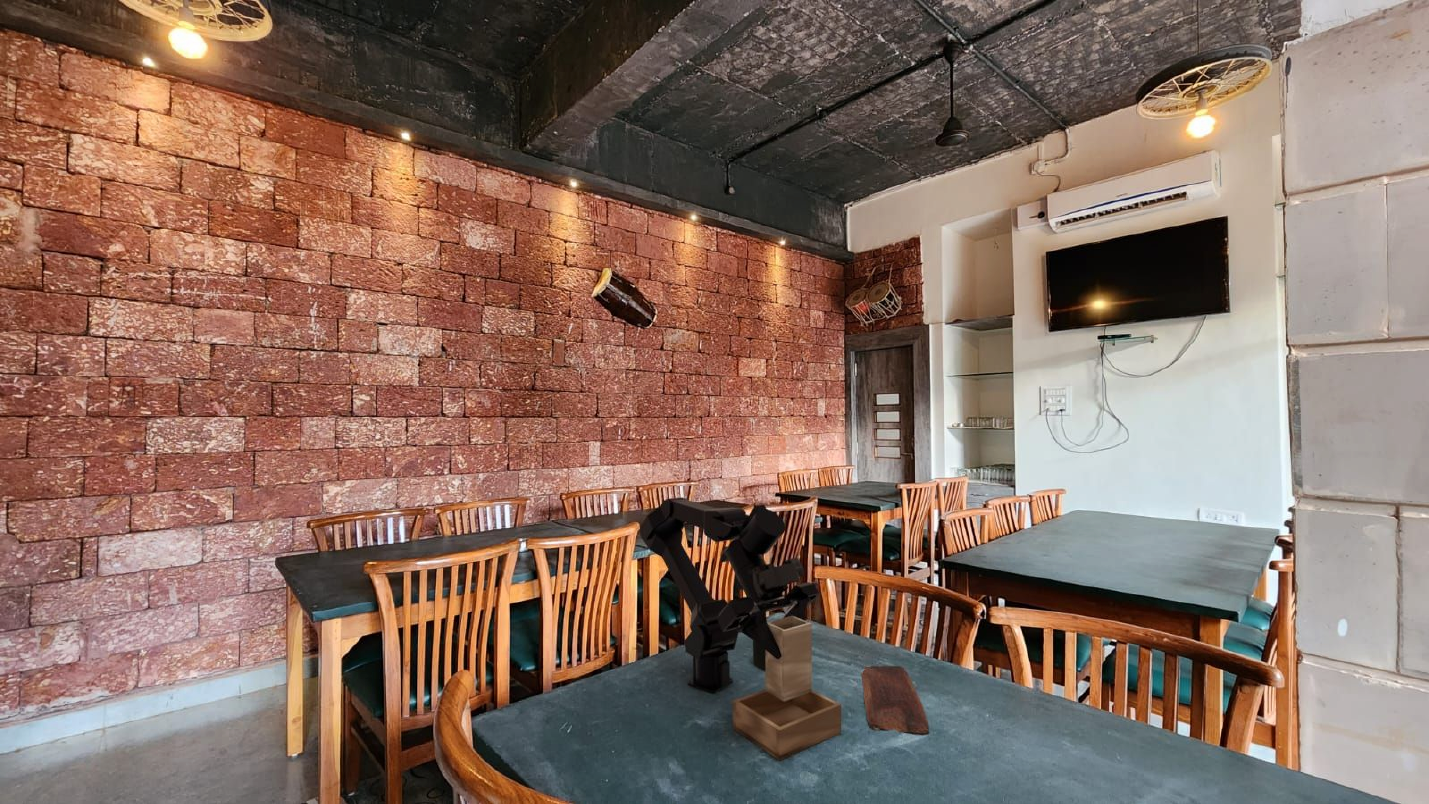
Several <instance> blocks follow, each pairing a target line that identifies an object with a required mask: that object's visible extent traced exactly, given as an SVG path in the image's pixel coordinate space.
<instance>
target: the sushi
mask: <svg viewBox="0 0 1429 804" xmlns="http://www.w3.org/2000/svg"><path fill="white" fill-rule="evenodd" d="M771 621H772V620H771ZM771 621H769V622H771ZM752 663H753V666H754V667H755V668H757V669H759V670H762V671H764V672H766V650H765V649H764V648H763V647H761V646H760V645H759V644H758V643H756V642H755V641H754V640H752Z"/></svg>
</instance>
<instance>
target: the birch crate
mask: <svg viewBox="0 0 1429 804" xmlns="http://www.w3.org/2000/svg"><path fill="white" fill-rule="evenodd" d="M767 624H768V626H769V628H770V630H771V632H772V634H773V636H774V638H775V641H776V643H777V645H778V647H779V649H780V652H781V655H782V657H781V658H780V659H776V658H775V657H773V656H772V655H771V654H770V653H769V652H767V651H766V671H764V672H765V681H764V682H765V684H764V687H765V688H764V690H765V691H767V692H769V693H770V694H772V695H774V696H775V697H777V698H779V699H780V700H782V701H784V702H785V701H788V700H790V699H793V698H795V697H798V696H801V695H803V694H806V693H808V692H811V689H812V675H813V674H812V665H813V664H812V661H813V660H812V658H813V657H812V652H813V651H812V647H813V646H812V643H813V642H812V639H813V638H812V637H813V636H812V634H813V633H812V626H813V624H812V622H809V621H807V620H806V621H804V620H802V619H800V618H797V617H795V616H789V617H786V618H783V617H781V618H779V619H776V620H771V622H770V621H767Z"/></svg>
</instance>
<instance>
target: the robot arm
mask: <svg viewBox="0 0 1429 804" xmlns="http://www.w3.org/2000/svg"><path fill="white" fill-rule="evenodd" d="M746 512H747V511H746V510H744V509H743V507H742V508H741V507H723V508H722V507H721V508H720V507H719V508H717V507H716V508H715V507H713V506H709V505H705V504H702V503H699V502H696V501H692V500H689V499H687V498H685V497H683V496H682V497H671V498H666V499H665V500H662V502H661V504H660V505H659V506H658V507H657V508H656V509H654V510H653V511H651V512H650V513H649V514H647V516H646V517H645V518H644V519H643V521H642V523H641V525H640V526H639V527H640V528H639V534H640V535H639V536H640V538H641V539H642V541H643V542H644V544H645V545H646V547H647V548H648V549H649V551H651V552H653V553H654V554H656V555H657V556H659V557H661V558H662V560H663V562H664V564H665V566H666V567H667V570H668V572H669V573H670V575H671V578H673V581H674V582H675V584H676V587H677V588H678V590H679V592H680V594H681V596H682V598H683V600H684V602H685V603H686V605H687V608H688V610H689V612H690V622H689V628H690V633H689V634H688V635H687V637H686V638H685V639H684V641H683V643H684V648H685V652H686V653H685V654H688V655H689V656H691V657H692V678H691V679H690V680H688V681H687V685H688V686H691V687H693V688H697V689H700V690H702V691H705V692H708V693H711V694H715V693H717V692H719V691H720V690H722V689H724V688H725V687H726V686H729V685H730V684H731V683H733V681H734V679H733V678H732V677H731V672H730V671H731V670H730V669H731V667H730V665H731V663H730V661H729V651H733V650H735V648H736V644H737V641H738V636H739V634H744V635H745V636H746V637H748V638H749V639H751V640H752V641H753V640H754V641H755V642H756V643H758V644H759V645H760V646H761V647H763V648H764V649H765V650H766V651H767V652H769V653H770V654H771V655H772V656H773V657H775V658H776V659H780V658H781V657H782V655H781V652H780V649H779V647H778V645H777V643H776V641H775V638H774V636H773V634H772V632H771V630H770V628H769V626H768V624H767V622H768V620H767V613H769V612H771V611H775V610H780V609H783V611H784V614H785V615H784V616H783V617H782V618H786V617H789V616H795V617H797V618H800V619H802V620H804V621H807V617H806V616H807V615H806V611H807V608H808V607H809V606H810V605H811V604H812V603H813V602H814V601H815V600H816V599H817V598H818V597H819V596H820V592H819V590H818V589H817V587H816V585H815V583H812V582H810V581H808V582H804V583H801V579H800V577H802V576H804V574H805V569H804V567H803V564H802V563H801V561H800V559H798V557H793V558H789V559H786V560H784V564H781V565H776V566H775V565H774V564H773V563H767V562H766V561H765V558H764V557H763V555H766V554H767V553H769V552H770V551H771V549H772V548H773V547H774V546H775V544H776V543H777V542H778V540H780V538H781V537H782V535H784V533H785V531H786V524H785V521H784V520H783V518H782V517H781V516H779V515H778V514H777V513H776V512H775V511H773V510H771V509H767V507H766V505H765V504H758V505H757V504H756V505H754V506H753V508H752V509H751V511H750V513H749V514H746ZM686 524H688V525H691V526H694V527H697V528H700V529H702V530H703V534H704V535H705V537H707V538H709V539H710V540H712V541H713V542H715V543H721V542H726V541H727V542H728V541H730V543H729V544H728V545H727V546H723V547H722V552H721V555H720V563H726V562H729V563H730V566H731V568H732V570H733V572H734V574H735V576H736V579H737V580H738V582H737V583H736V585H735V587H736V589H737V591H743V592H744V595H745V596H744V597H743V596H742V597H739V598H733V599H730V600H729V601H727V600H726V599H725V598H721V599H717V600H716V599H714V597H713V596H712V595H711V592H709V589H708V588H707V586H706V584H705V583H704V581H703V579H702V577H701V576H700V574H699V572H698V570H697V569H696V567H695V565H694V564H693V561H692V560H691V558H690V557H689V555H688V553H687V551H686V549H685V547H684V546H683V535H684V532H683V529H684V528H685V527H686ZM793 583H797V584H796V585H794V586H793V587H792V588H791V589H790V590H789V591H788V592H787V593H786V594H783V593H784V592H786V591H787V590H788V589H789V586H788V585H790V584H793ZM798 583H800V584H798Z"/></svg>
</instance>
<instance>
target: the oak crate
mask: <svg viewBox="0 0 1429 804" xmlns="http://www.w3.org/2000/svg"><path fill="white" fill-rule="evenodd" d="M732 730H733V731H735V732H736V733H738V734H740V735H741V736H743V737H744V738H746V739H747V740H748V741H750V742H751V743H753V744H754V745H756V746H757V747H758V748H760V749H762V750H763V751H764V752H766V753H768V755H770V756H772V757H773V758H775V759H776V760H777V761H779V762H781V761H783V760H785V759H787V758H790V757H791V756H794V755H796V754H798V753H800V752H802V751H803V752H804V751H805V750H807V749H809V748H812V747H814V746H816V745H818V744H820V743H823V742H825V741H826V740H829V739H831V738H833V737H836V736H837V735H840V734H841V733H842V704H841V703H839V702H837V701H835V700H833V699H831V698H829V697H827V696H826V695H823V694H821V693H820V692H817V691H815V690H813V689H812V688H811V692H808V693H806V694H803V695H801V696H798V697H795V698H793V699H790V700H788V701H785V702H784V701H782V700H780V699H779V698H777V697H775V696H774V695H772V694H770V693H769V692H767V691H765V689H763V690H760V691H758V692H755V693H752V694H748V695H746V696H744V697H741V698H738V699H735V700H732Z"/></svg>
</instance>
